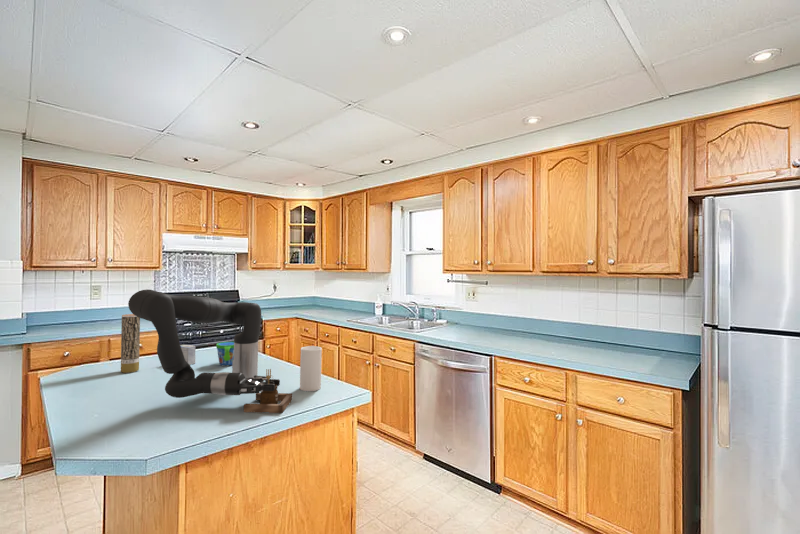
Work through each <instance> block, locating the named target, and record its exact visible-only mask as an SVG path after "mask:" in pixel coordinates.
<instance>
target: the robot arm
mask: <svg viewBox="0 0 800 534" xmlns="http://www.w3.org/2000/svg"><path fill="white" fill-rule="evenodd" d="M127 306H128V309H129V311H130V313H131V314H134V315H135V316H137V317H139V318H140V319H142V320H146V321H148V322H151V323H152V325H153V327H154V328H155V330H156V332H157V336H158V339H157V344H156V345H157V346H156V352H157V356H158V359H159V362H160V365H161V369H162V370H163V371H164V373H166V374H168V375H171V377H170V378H169V380H168V381H167V382H166V384H165V386H164V390H165V393H166V394H167V395H168V396H170V397H172V398H176V399H177V398H179V399H181V398H186V397H192V396H197V395H199V394H200V395H201V394H205V395H206V394H210V395H211V394H212V395H218V396H219V395H221V396H224V395H225V396H241V395H246V394H247V395H249V394H256V393H261V392H262V391H274V390H275V384H276V385H277V387H280V384H281V380H280V379H279V378H278V379H276V378H275V379H274V378H273V379H272V378H270V379H269V384H268V383H267V382H268V381H267V378H266V375H265V376H264V375H259V374H258V373H259V372H258V370H259V369H258V368H259V365H258V363H259V336H260V334H261V327H262V325H261V324H262V308H261V306H260V305H259V304H258V303H255V302H245V301H242V302H241V301H238V302H237V301H236V302H235V301H234V302H226V301H225V302H224V301H221V300H219V299H216V298H212V297H208V296H195V295H175V294H169V293H165V292H160V291H157V290H154V289H153V290H152V289H147V288H146V289H142V290H139V291H136V292H135V293H134V294H132V295H131V297H130V298H129V300H128V304H127ZM177 319H178V320H182V321H187V322H191V323H199V324H200V323H201V324H212V323H217V322H226V323H231V324H236V325H240V326H243V329H242V332H240V333H237V334H235V335H234V337H233V342H234V360H233V362H232V365H231V367H232V369H231V370H232V371H230V372H226V371H225V372H224V371H223V372H202V373H199V374H198V375H197V376H196V375H195V371H194V369H193V367H192V365H189V364H188V363H187V361H186V360H185V358H184V355H183V352H182V349H181V346H180V345H181V344H180V339H179V334H178V327H177V326H178V325H177V321H176V320H177ZM273 382H274V383H273Z"/></svg>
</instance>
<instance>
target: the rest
mask: <svg viewBox="0 0 800 534" xmlns="http://www.w3.org/2000/svg"><path fill="white" fill-rule="evenodd" d="M260 394H261V392H259V393H255V401H256V400H260ZM292 401H293V393H289V392H288V393H287V392H286V393H284V392H281V393H280V392H278V402H280V403H278V404H260V403H244V404H243V413H262V412H269V413H270V414H271V413H272V414H273V413H274V414H283V413H284V412H285V410H286V409H287V408H288V406H289V405H290V404H291V402H292ZM289 403H290V404H289ZM286 407H287V408H286ZM269 413H268V414H269Z"/></svg>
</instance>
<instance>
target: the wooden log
mask: <svg viewBox="0 0 800 534" xmlns="http://www.w3.org/2000/svg"><path fill="white" fill-rule="evenodd" d="M140 332H141V318H139V317H137V316H135V315H134V314H133V313H128V314H121V332H120V333H121V335H120V336H121V337H120V338H121V339H120V343H121V344H120V372H121V373H123V374H126V373H127V374H130V373H135V372H138V371H139V370H140V343H141V342H140V341H141V340H140V336H141V333H140Z"/></svg>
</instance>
